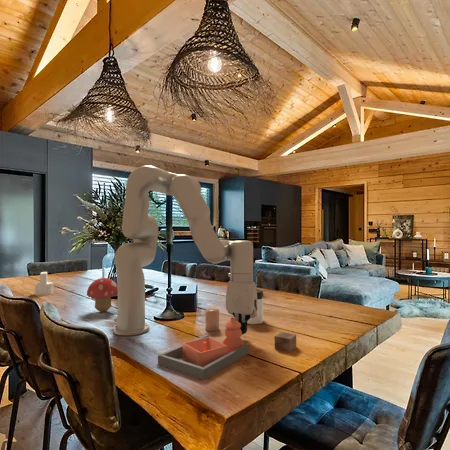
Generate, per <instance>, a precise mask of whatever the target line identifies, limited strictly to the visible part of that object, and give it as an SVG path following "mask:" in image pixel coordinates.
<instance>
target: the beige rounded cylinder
mask: <svg viewBox="0 0 450 450" xmlns="http://www.w3.org/2000/svg"><path fill="white" fill-rule="evenodd" d="M204 317H205V321H204V322H205V331H207V332H217V331H220V309H219V308H217V307H216V308H215V307H213V308H212V307H211V308H206V309H205V316H204Z"/></svg>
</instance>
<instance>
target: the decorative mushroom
mask: <svg viewBox="0 0 450 450" xmlns="http://www.w3.org/2000/svg"><path fill="white" fill-rule="evenodd" d="M86 296H87V297H88V298H92V299H94V309H95V310H97V311H99V312H100V313H105V312H107V311H108V310H110V309H111V307H112V298H113V297H116V296H118V288H117V282H115V281H114V280H113V279H111V278H108V277H100V278H97V279H95V280H94V281H92V282H91V283H90V284H89V286H88V287H87V291H86Z"/></svg>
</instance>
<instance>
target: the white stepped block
mask: <svg viewBox="0 0 450 450" xmlns="http://www.w3.org/2000/svg"><path fill="white" fill-rule="evenodd" d="M39 279H40V280H39V282H36V283H34V295H35V296H49V295H53V294H54V288H53V287H54V282H52V281H48V271H41V272H40V273H39Z"/></svg>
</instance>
